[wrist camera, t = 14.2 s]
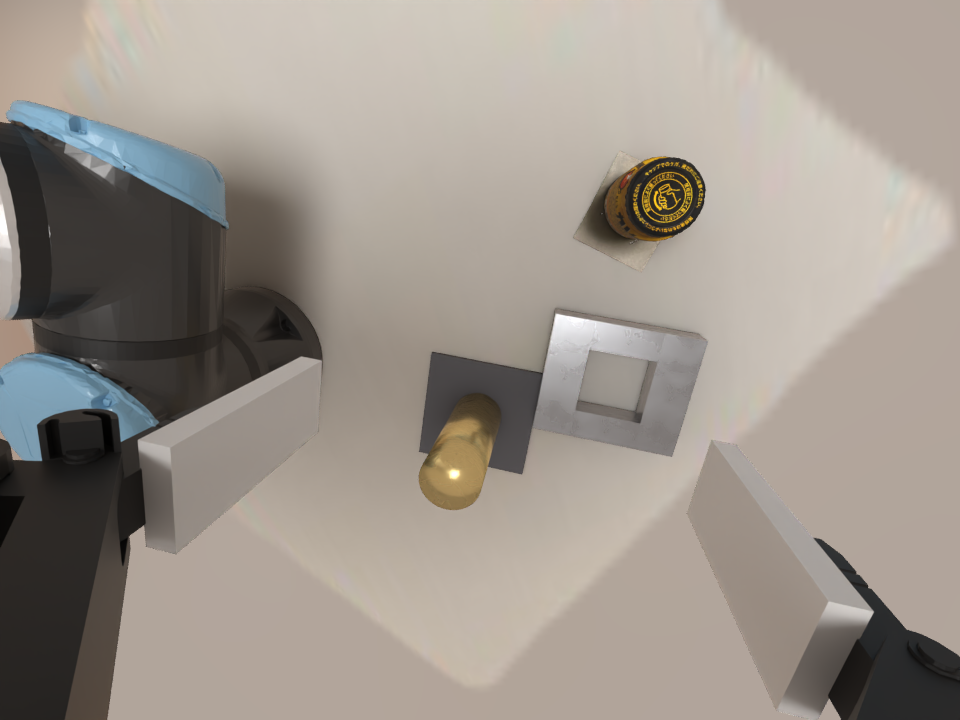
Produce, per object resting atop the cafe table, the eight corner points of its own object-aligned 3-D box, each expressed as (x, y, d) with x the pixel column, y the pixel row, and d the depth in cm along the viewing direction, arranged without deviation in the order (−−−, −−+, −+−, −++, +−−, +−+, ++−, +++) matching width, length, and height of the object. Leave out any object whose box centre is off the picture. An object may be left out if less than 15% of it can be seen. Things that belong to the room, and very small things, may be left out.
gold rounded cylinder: (451, 431, 52) (415, 502, 38) (457, 388, 50) (422, 446, 37) (497, 441, 51) (476, 516, 38) (504, 398, 50) (486, 460, 36)
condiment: (691, 187, 42) (741, 172, 30) (640, 272, 44) (669, 287, 33) (619, 150, 42) (642, 122, 30) (573, 237, 45) (578, 241, 33)
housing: (533, 416, 50) (532, 427, 47) (555, 308, 47) (555, 313, 44) (665, 443, 49) (671, 456, 46) (698, 334, 45) (708, 341, 42)
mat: (420, 450, 54) (419, 451, 53) (432, 351, 50) (431, 352, 50) (522, 472, 52) (522, 474, 52) (542, 373, 49) (542, 374, 48)
